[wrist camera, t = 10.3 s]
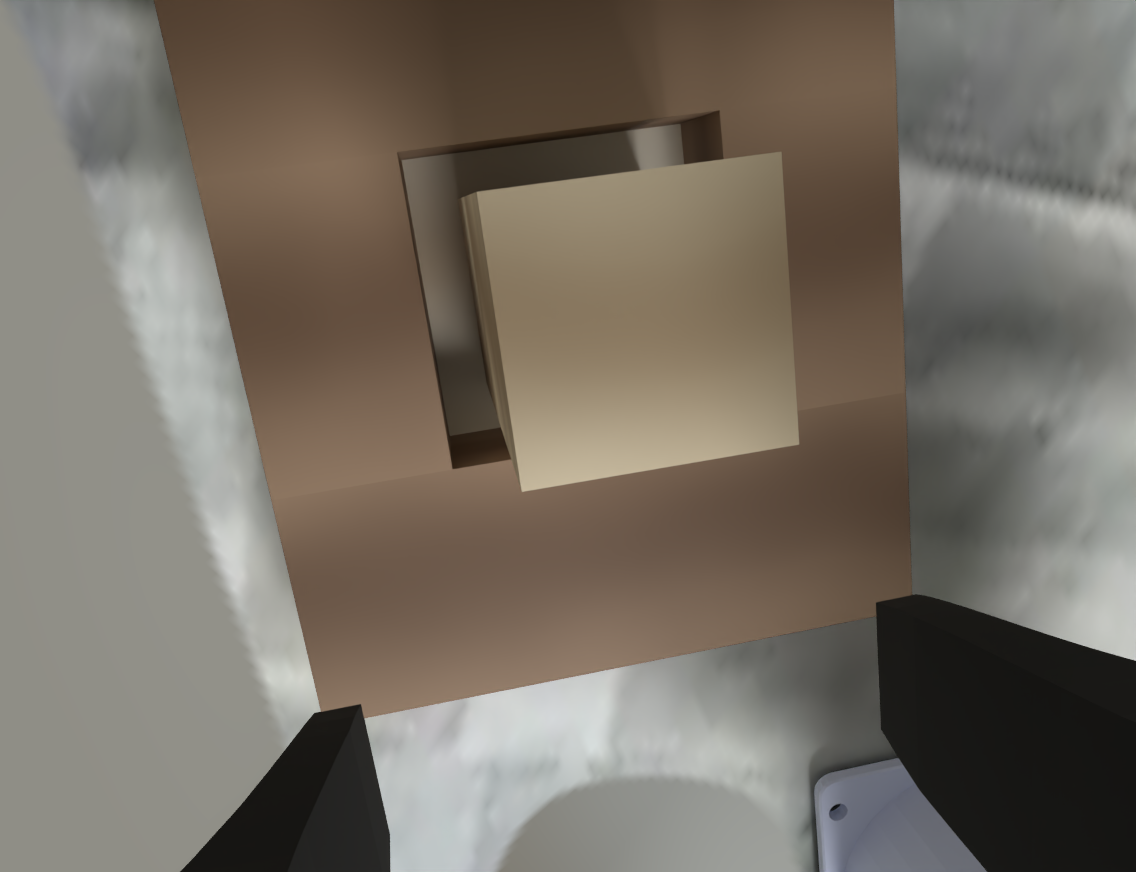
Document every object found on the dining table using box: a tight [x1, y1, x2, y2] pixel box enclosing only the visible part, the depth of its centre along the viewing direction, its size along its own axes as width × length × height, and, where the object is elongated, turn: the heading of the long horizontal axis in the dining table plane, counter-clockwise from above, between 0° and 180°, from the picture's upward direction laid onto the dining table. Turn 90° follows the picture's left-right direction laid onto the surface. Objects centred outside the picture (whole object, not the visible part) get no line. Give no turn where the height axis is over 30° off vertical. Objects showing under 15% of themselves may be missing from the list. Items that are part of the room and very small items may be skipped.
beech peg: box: [458, 152, 799, 492], centre depth 16 cm, size 4×4×8 cm
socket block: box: [154, 0, 912, 718], centre depth 18 cm, size 16×13×3 cm
